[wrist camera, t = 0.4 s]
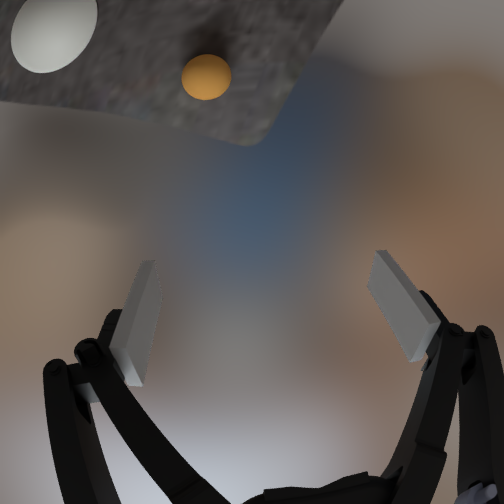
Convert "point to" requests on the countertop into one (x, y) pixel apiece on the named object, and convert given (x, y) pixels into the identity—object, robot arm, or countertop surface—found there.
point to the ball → (206, 77)
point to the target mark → (52, 32)
